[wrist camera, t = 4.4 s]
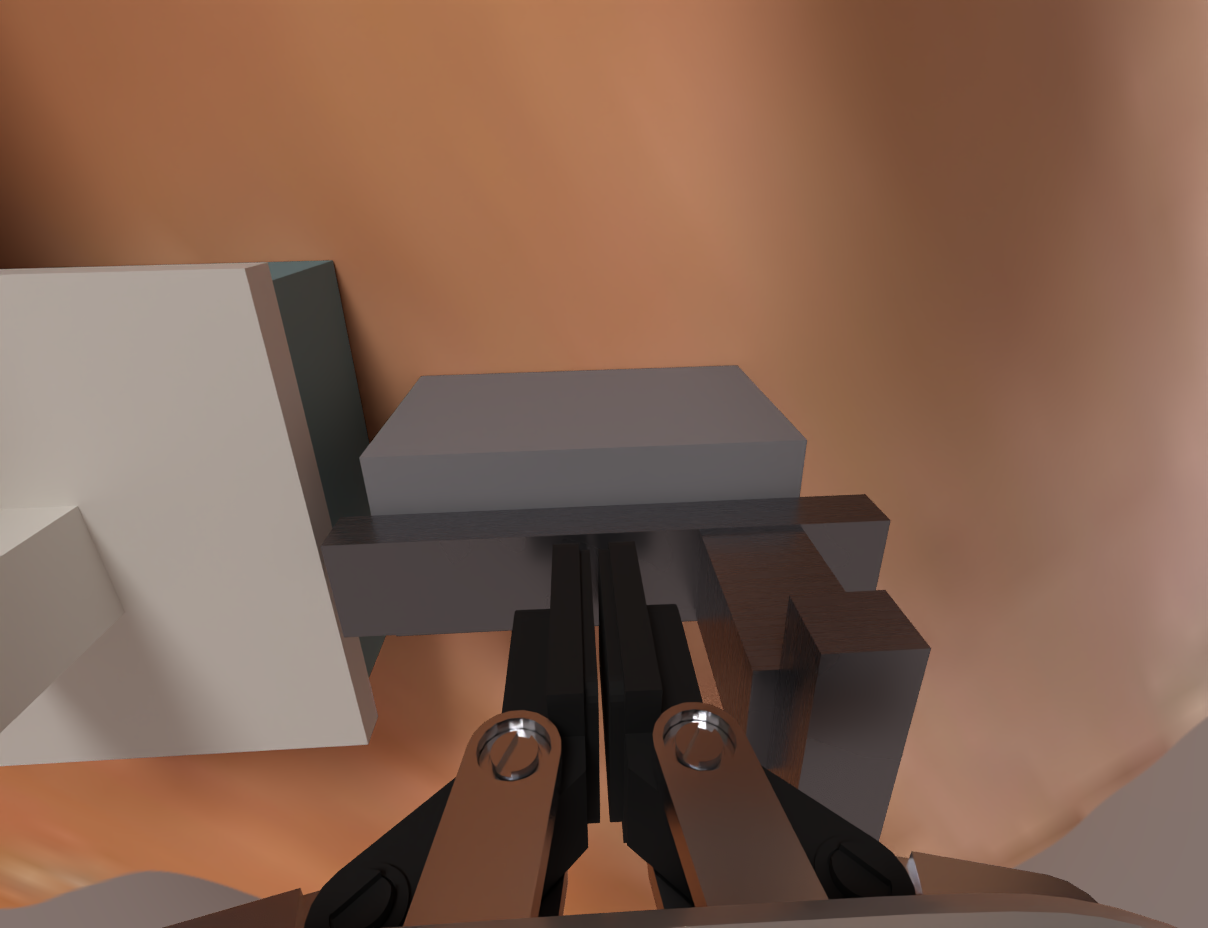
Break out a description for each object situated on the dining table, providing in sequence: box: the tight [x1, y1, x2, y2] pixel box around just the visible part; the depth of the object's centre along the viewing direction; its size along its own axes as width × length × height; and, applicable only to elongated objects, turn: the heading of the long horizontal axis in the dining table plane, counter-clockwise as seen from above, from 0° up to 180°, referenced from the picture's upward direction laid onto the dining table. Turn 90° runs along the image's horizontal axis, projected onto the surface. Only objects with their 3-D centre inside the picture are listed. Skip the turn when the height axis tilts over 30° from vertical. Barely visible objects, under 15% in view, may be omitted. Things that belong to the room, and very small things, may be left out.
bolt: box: [321, 494, 931, 841], centre depth 11 cm, size 5×12×6 cm, turn 91°
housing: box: [18, 260, 807, 677], centre depth 17 cm, size 12×24×6 cm, turn 91°
